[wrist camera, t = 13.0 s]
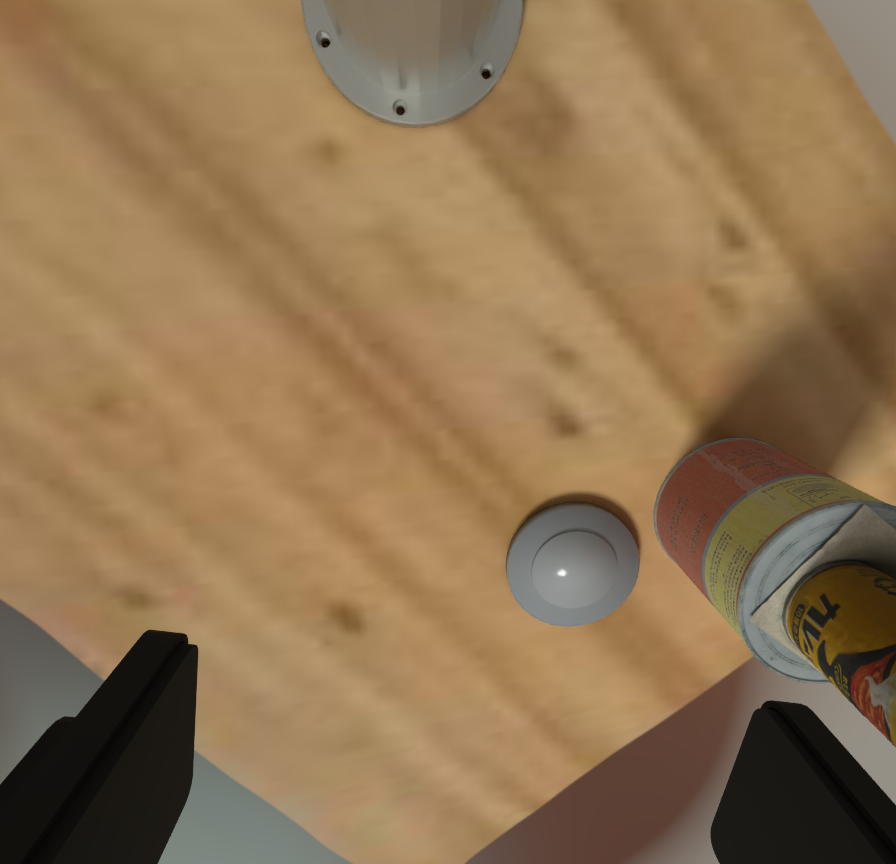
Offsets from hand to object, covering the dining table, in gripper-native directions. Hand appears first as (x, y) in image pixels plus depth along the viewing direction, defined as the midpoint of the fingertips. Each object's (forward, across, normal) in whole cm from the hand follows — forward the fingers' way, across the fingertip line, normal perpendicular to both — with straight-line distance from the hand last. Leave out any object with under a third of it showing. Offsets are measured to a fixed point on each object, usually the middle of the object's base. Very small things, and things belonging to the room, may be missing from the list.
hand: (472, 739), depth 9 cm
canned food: (+31, -23, +6) cm, 39 cm away
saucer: (+30, -12, +12) cm, 35 cm away
